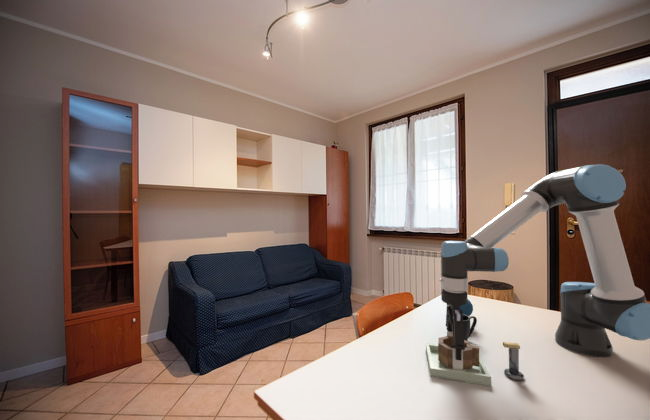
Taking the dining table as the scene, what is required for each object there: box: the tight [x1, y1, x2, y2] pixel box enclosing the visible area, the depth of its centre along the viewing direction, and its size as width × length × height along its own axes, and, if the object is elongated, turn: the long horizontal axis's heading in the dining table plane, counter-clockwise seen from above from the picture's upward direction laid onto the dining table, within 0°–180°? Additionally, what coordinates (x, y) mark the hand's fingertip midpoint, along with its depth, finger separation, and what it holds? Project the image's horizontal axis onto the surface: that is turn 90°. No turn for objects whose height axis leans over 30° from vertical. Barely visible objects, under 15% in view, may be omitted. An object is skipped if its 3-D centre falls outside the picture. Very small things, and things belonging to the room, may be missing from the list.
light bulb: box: [460, 298, 474, 317], centre depth 118 cm, size 8×8×12 cm
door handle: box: [502, 341, 525, 382], centre depth 81 cm, size 5×5×10 cm
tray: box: [425, 343, 492, 387], centre depth 86 cm, size 16×16×2 cm
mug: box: [463, 314, 478, 341], centre depth 103 cm, size 8×12×10 cm
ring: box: [437, 335, 480, 370], centre depth 86 cm, size 12×10×6 cm
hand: (454, 359), depth 86 cm, fingers closed on ring, 10 cm apart
